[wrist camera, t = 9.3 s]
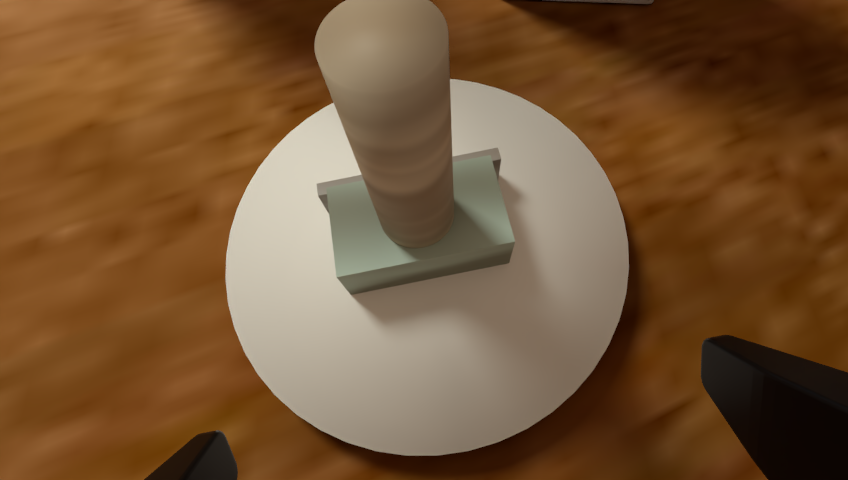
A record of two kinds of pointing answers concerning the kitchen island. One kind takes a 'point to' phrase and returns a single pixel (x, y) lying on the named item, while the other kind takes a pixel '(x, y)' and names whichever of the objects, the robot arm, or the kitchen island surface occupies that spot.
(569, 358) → the white plate
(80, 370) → the kitchen island surface
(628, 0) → the coffee box
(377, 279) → the rubber stamp
